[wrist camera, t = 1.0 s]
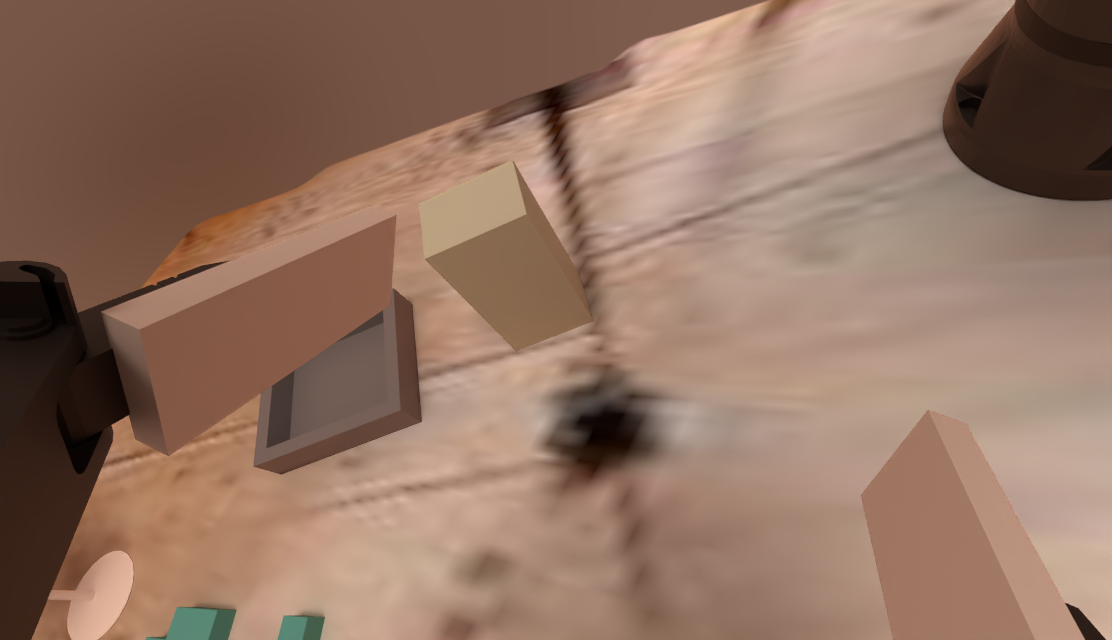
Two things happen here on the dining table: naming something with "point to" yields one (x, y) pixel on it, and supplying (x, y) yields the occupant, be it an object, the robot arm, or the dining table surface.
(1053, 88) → the robot arm
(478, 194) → the tan rectangular block
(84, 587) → the wineglass
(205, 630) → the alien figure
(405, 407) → the grey tray
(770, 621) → the dining table surface
